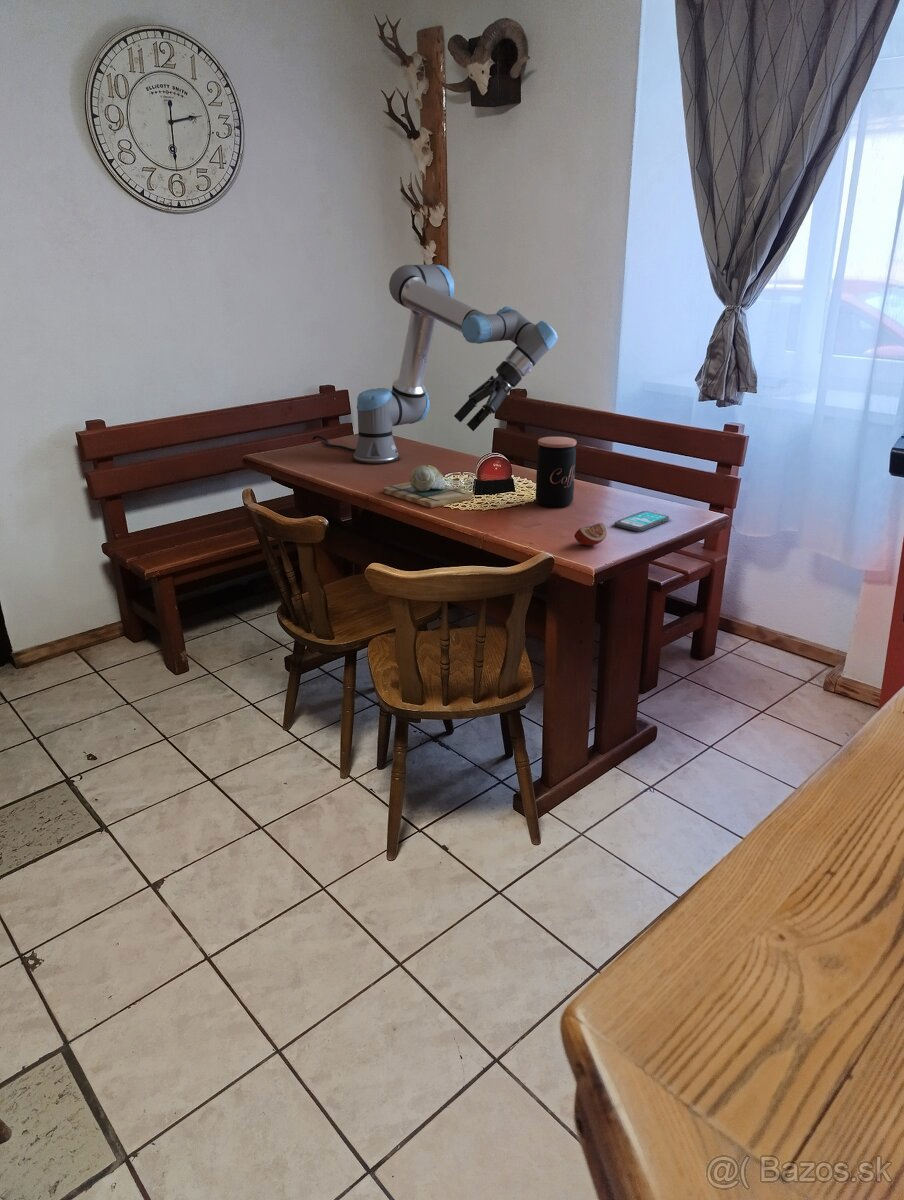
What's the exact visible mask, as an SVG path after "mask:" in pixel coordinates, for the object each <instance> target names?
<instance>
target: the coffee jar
mask: <svg viewBox="0 0 904 1200" xmlns="http://www.w3.org/2000/svg"><path fill="white" fill-rule="evenodd" d="M577 443H578V442H577V439H574V438H573V437H567V436H544V437H540V438H539V439H538V440H537V444H538V446H539V447H537V450H536V451H537V452H536V476H535V477H536V478H535V501H536V503H537V504H538V505H539V506H541V507H545V508H550V509H561V508H567V507H570V506H571V504H572V503H573V501H574V495H575V493H574V492H575V477H576V458H577V449H576V447H575V446H576V445H577Z"/></svg>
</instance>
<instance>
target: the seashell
mask: <svg viewBox="0 0 904 1200" xmlns="http://www.w3.org/2000/svg"><path fill="white" fill-rule="evenodd" d="M409 482H410V483H411V486H412V487H413V488H414V489H415V490H417V491H422V492H423V491H428V490H430V489H431V488H432V489H445V485H446V482H445V479H444V476H443V474H442V473H441V471H440V470H439V469H438V468H436V467H435V466H434V465H430V464H422V465H418V466H415V468H413V470H412V471H411V473H410V475H409Z"/></svg>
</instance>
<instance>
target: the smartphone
mask: <svg viewBox="0 0 904 1200" xmlns="http://www.w3.org/2000/svg"><path fill="white" fill-rule="evenodd" d="M669 520H670V516H669V515H666V514H661V513H657V512H653V511H649V510H641V511H639V512H636V513H634V514H631V515H627V516H626V517H623V518H621V519H618V520H615V522H614V526H615V527H619V528H622V529H626V530H629V531H633V532H644V531H646V530H649V529H651V528H654V527H656V526H659V525H661V524H664V523H666V522H668V521H669Z"/></svg>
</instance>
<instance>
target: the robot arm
mask: <svg viewBox="0 0 904 1200" xmlns="http://www.w3.org/2000/svg"><path fill="white" fill-rule="evenodd" d="M388 289H389V294H390V295H391V298H392V299H393V300H394V301H395V302H396V303H397V304H399V305H401V306H402V307H404V308H406V309H408V310H410V314H409V320H408V326H407V331H406V336H405V340H404V341H405V342H404V347H403V353H402V357H401V362H400V369H399V373H398V378H396V379H395V380H393V382H392V388H391V389H390V388H386V387H377V388H369V389H365V390H363V391H361V392H360V393H359V394H358V395H357V398H356V411H357V429H358V430H357V431H358V433H357V434H358V437H357V438H358V439H357V442H356V446H355V448H351V447H348V446H345V445H341V444H331V443H329V440H328V439H327V438H326V437H323V436H322V435H318V434H316V435H313V437H312V438H311V439H312V440H316V439H320V440H322V441H324V443H323V444H324V446H325V447H327V448H328V447H329V448H338V449H342V450H346V451H349V452H354V454H353V458H354V461H355V462H357V463H359V464H366V465H367V464H368V465H369V464H370V465H381V464H389V463H394V462H396V461H398V460H399V452H398V448H397V446H396V442H395V440H394V437H393V427H397V426H403V425H408V424H409V425H412V424H415V423H418V422H421V421H423V420H425V418H426V417H427V416H428V414H429V411H430V407H431V406H430V405H431V401H430V400H429V399H430V396H429V394H428V392H427V388H426V386H425V385H424V380H425V375H426V371H427V364H428V360H429V357H430V356H429V355H430V350H431V348H432V347H431V346H432V341H433V338H434V337H433V336H434V332H435V327H436V323H437V321H439V322H441V323H443V324H445V325H446V326H448V327H450V328H452V329H454V330H457V331H458V332H460V333H461V334H462V335H463V337H464V339H465V341H466V342H468V343H470V344H479V345H480V344H481V345H482V344H484V343H494V342H504V341H510V342H511V343H513V344H515V345H516V346H515V347H514V348H513V349H512V351H511V352H509V354H508V355H507V356H506V357H505V360H502V362H500V364H499V365H498V366H497V367H495V368H496V369H495V372H496V374H497V376H496V377H495V376H494V375H491V376H490V377H489V378H488V379H487V380H486V381H484V383H482V384H481V385H480V386H479V387H477V388H476V389H474V390H473V391H472V392H471V393H469V394H468V400H467V401H465V403H464V404H463V405H462V406H461V407H460V408H459V410H458V411H457V412H456V413H455V414H454V415H453V417H454V418H455V419H456V420H457V421H458V422H459V423H461V422H463V421H464V419H465V418H466V417H468V415H469V414H470V413H471V412H472V411H473V410H474V409H475V408H476V407H478V403H480V402H482V401H484V400H485V399H486V398H488V399H487V401H486V403H485V404H483V405H482V406H481V408H480V409H479V410H478V411H477V413H475V414H474V416H473V417H471V419H470V420H469V421H468V422H467V423H466V426H467V427H468V428H469V429H470V430H471V431H472V432H475V430H476V429H478V427H479V426H480V425H481V424H482V423H483V422H484V421H485V420H486V419H487V417H488V416H489V415H493V414H495V413H497V411H498V409H499V408H500V406H501V404H502V403H503V402H504V400H505V398H506V397H507V395H509V393H510V391H511V390H512V389H513V388H516V386H517V385H518V384H519V383H520V382H521V381H522V378H523V377H525V376H526V375H527V374H530V373H531V372H532V369H533V368H534V366H535V365H536V364H537V363H538V362H539V361H540V360H541V359H542V358H543V357H544V356H545V355H546V354H547V353H548V352H549V351H550V350H551V348H553V346H554V345H555V344H556V343H557V342H558V338H559V337H558V333H557V332H556V330H555V329H554V328H553V327H552V326H551V325H550V324H549V323H548V322H546V321H544V320H540V321H538V323H536V324H535V323H533V322H532V321H530V320H529V319H527V318H526V317H525V316H524V315H522V314H521V313H520V312H519V311H518V310H517V309H514V308H513V307H511V306H503V307H502V308H501V309H498V311H497V312H496V313H488V314H487V313H485V312H483V311H481V310H478V309H477V308H474V307H472V306H470V305H469V304H467V303H464V302H463V301H460V300H458V299H456V298H454V294H455V281H454V278H453V276H452V273H451V272H450V270H449V269H448V267H446V266H444V265H441V264H435V263H430V264H404V265H401V266H399V267H397V268H396V269H395V270H394V271H393V273H392V274H391V275H390V278H389V283H388Z"/></svg>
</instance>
